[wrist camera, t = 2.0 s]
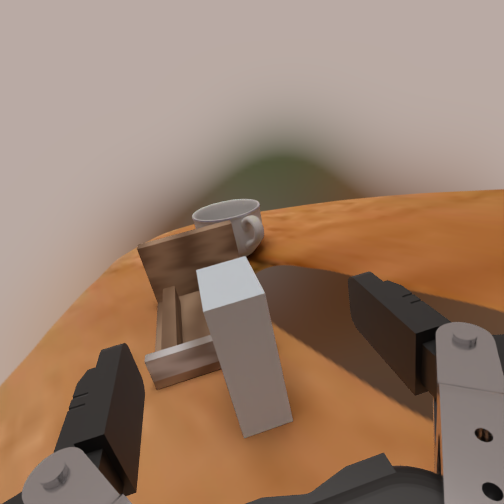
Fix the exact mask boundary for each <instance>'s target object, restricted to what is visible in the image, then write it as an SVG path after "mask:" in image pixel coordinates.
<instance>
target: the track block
mask: <svg viewBox="0 0 504 504" xmlns="http://www.w3.org/2000/svg"><path fill="white" fill-rule="evenodd" d="M137 250H138V253H139V255H140V258H141V260H142V263H143V266H144V268H145V271H146V273H147V276H148V278H149V281H150V284H151V286H152V289H153V291H154V294H155V297H156V299H157V302H158V310H157V328H156V346H155V352H154V353H151V354H147V355H145V364H146V366H147V369H148V371H149V373H150V375H151V378H152V380H153V382H154V384H155V387H156V389H161V388H164V387H167V386H170V385H173V384H176V383H179V382H182V381H185V380H188V379H191V378H194V377H197V376H201V375H204V374H207V373H210V372H213V371H216V370H219V369H222V368H221V365H220V362H219V359H218V356H217V353H216V350H215V347H214V344H213V341H212V337H211V334H210V331H209V328H208V325H207V322H206V319H205V316H204V313H203V308H202V302H201V296H200V290H199V284H198V278H197V272H196V270H198V269H202V268H205V267H209V266H212V265H216V264H219V263H223V262H226V261H230V260H233V259H237V258H240V256H239V252H238V248H237V244H236V240H235V236H234V232H233V228H232V224H231V222H230V220H227V221H224V222H220V223H216V224H213V225H209V226H205V227H202V228H198V229H194V230H191V231H187V232H183V233H180V234H176V235H172V236H169V237H165V238H161V239H158V240H154V241H150V242H147V243H143V244H139V245H138V248H137Z"/></svg>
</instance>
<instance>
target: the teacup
mask: <svg viewBox="0 0 504 504" xmlns="http://www.w3.org/2000/svg"><path fill="white" fill-rule="evenodd" d="M259 207H260V203H259V202H258V201H256V200H252V199H236V200H229V201H223V202H219V203H215V204H211V205H209V206H206V207H203V208H201V209H199V210H197V211H196V212H194V214H193V215H192V218H193V220H194V223H195V227H196V229H198V228H202V227H205V226H209V225H213V224H216V223H220V222H224V221H227V220H230V222H231V224H232V228H233V232H234V236H235V240H236V244H237V248H238V252H239V256H240V257H244V256H248V255H250V254H251V253H252V252H253V251H254V250H255V248H257V246H258V245H259V244H260V243H261V240H262V239H263V236H264V228H263V225H262V221H261V214H260V208H259Z"/></svg>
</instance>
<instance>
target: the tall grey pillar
mask: <svg viewBox="0 0 504 504" xmlns="http://www.w3.org/2000/svg"><path fill="white" fill-rule="evenodd" d="M196 272H197V278H198V284H199V290H200V296H201V302H202V308H203V313H204V316H205V319H206V322H207V325H208V328H209V331H210V334H211V337H212V341H213V344H214V347H215V350H216V353H217V356H218V359H219V362H220V365H221V368H222V372H223V375H224V378H225V381H226V384H227V387H228V390H229V393H230V396H231V399H232V403H233V406H234V409H235V412H236V415H237V418H238V421H239V424H240V427H241V430H242V433H243V437H244V438H247V437H250V436H252V435H255V434H258V433H261V432H264V431H266V430H269V429H272V428H275V427H278V426H281V425H283V424H286V423H289V422H292V421H293V418H292V414H291V409H290V405H289V400H288V396H287V391H286V387H285V382H284V377H283V373H282V368H281V364H280V359H279V355H278V350H277V346H276V341H275V337H274V332H273V328H272V323H271V319H270V314H269V310H268V305H267V301H266V297H265V293H264V291H263V289H262V287H261V285H260V283H259V281H258V279H257V277H256V275H255V273H254V271H253V269H252V268H251V266H250V264H249V262H248V260H247V258H246V256H244V257H240V258H237V259H233V260H230V261H226V262H223V263H219V264H216V265H212V266H209V267H205V268H202V269H198V270H196Z"/></svg>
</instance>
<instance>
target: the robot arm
mask: <svg viewBox="0 0 504 504" xmlns="http://www.w3.org/2000/svg"><path fill="white" fill-rule="evenodd" d="M348 288H349V300H350V311H351V317H352V320H353V322H354V324H355V326H356V328H357V329H358V330H359V332H360V333H361V334H362V335H363V336H364V337H365V339H366V340H367V341H368V342H369V343H370V344H371V346H373V348H374V349H375V350H376V351H377V352H378V353H379V355H380V356H381V357H382V358H383V359H384V360H385V362H386V363H387V364H388V365H389V366H390V367H391V369H392V370H393V371H394V372H395V373H396V374H397V375H398V377H399V378H400V379H401V380H402V381H403V382H404V383H405V384H406V386H407V387H408V388H409V389H410V390H411V391H412V393H413V394H414V395H419V394H421V393H424V392H427V391H429V392H430V393H431V394H432V395H433V423H434V472H431V471H428V470H424V469H420V468H415V467H409V466H392V465H391V463H390V462H389V460H388V459H387V457H386V455H385V454H384V453H381V454H379V455H376V456H373V457H371V458H368V459H365V460H362V461H360V462H357V463H354V464H352V465H349V466H346V467H344V468H343V469H342V470H340V471H339V472H338V473H336V474H335V475H334V476H332V477H331V478H330V479H328V480H327V481H326V482H324V483H323V484H322V485H320V486H319V487H318V488H316V489H315V490H314V491H312V492H310V493H308V494H303V495H290V496H277V497H264V498H260V499H257V500H254V501H252V502H249V503H246V504H504V334H503V335H491V334H490V333H489V332H488V331H486V330H485V329H483V328H481V327H479V326H476V325H473V324H469V323H463V322H450V321H449V320H448V319H446V318H445V317H444V316H442V315H441V314H440V313H438V312H437V311H436V310H434V309H433V308H431V307H430V306H429V305H427V304H426V303H425V302H423V301H421V300H420V299H419V298H418V297H416V296H415V295H412V293H411V292H410V291H409V290H407V289H406V288H404V287H403V286H402V285H399V284H396V283H393V282H391V281H388V280H387V281H384V282H383V281H382V280H380V279H379V278H378V277H377V276H375V275H374V274H373V273H371V272H366V273H362V274H359V275H356V276H352V277H350V278H349V279H348ZM144 400H145V390H144V384H143V380H142V377H141V375H140V372H139V370H138V368H137V365H136V363H135V361H134V359H133V356H132V354H131V352H130V349H129V347H128V346H127V344H126V343H123V344H120V345H116V346H113V347H110V348H106V349H103V350H101V352H100V355H99V358H98V362H97V365H96V368H93V369H89V370H87V372H86V373H85V374H84V376H83V377H82V378H81V379H80V381H79V382H78V383H77V386H76V389H75V392H74V395H73V400H71V403H70V406H69V411H68V412H67V415H66V418H65V421H64V424H63V427H62V430H61V433H60V435H59V438H58V441H57V444H56V447H55V450H54V453H53V454H51V455H50V456H48V457H47V458H45V459H44V460H43V461H42V462H41V463H40V464H38V466H37V467H36V468H35V469H34V470H33V471H32V472H31V474H30V475H29V477H28V478H27V480H26V482H25V484H24V487H23V490H22V492H21V493H19V494H17V495H16V496H14V497H13V498H11V499H9V500H8V501H6V502H4V503H3V504H132V503H131V502H130V501H129V500H128V499H127V497H126V496H127V495H130V494H133V493H136V490H137V479H138V467H139V456H140V445H141V433H142V422H143V411H144Z"/></svg>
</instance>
